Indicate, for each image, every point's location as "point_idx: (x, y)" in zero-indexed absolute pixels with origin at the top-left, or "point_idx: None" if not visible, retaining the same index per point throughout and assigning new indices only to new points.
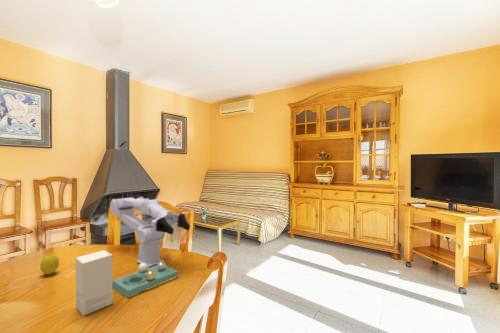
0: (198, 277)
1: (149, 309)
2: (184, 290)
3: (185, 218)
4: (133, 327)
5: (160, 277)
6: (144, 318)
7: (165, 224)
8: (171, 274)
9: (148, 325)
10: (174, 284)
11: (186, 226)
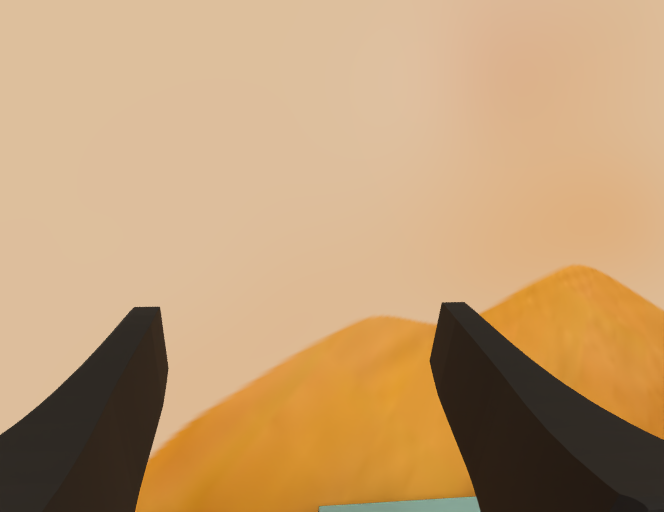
0: (221, 417)
1: (561, 339)
2: (372, 356)
3: (6, 434)
4: (627, 291)
5: (463, 503)
6: (588, 306)
7: (564, 387)
8: (374, 504)
9: (580, 268)
10: (380, 450)
11: (153, 370)
